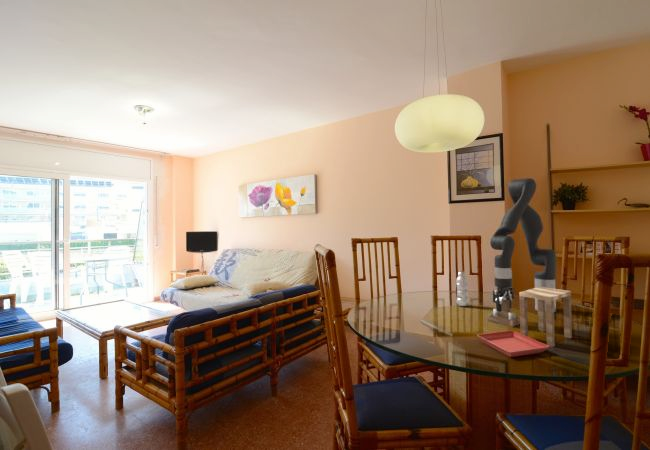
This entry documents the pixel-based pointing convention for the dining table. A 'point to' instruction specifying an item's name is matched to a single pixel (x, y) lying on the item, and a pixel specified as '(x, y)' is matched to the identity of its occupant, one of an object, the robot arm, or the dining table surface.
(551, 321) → the stool
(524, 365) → the dining table surface
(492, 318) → the caddy
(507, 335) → the plant saucer
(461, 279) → the plastic bottle
